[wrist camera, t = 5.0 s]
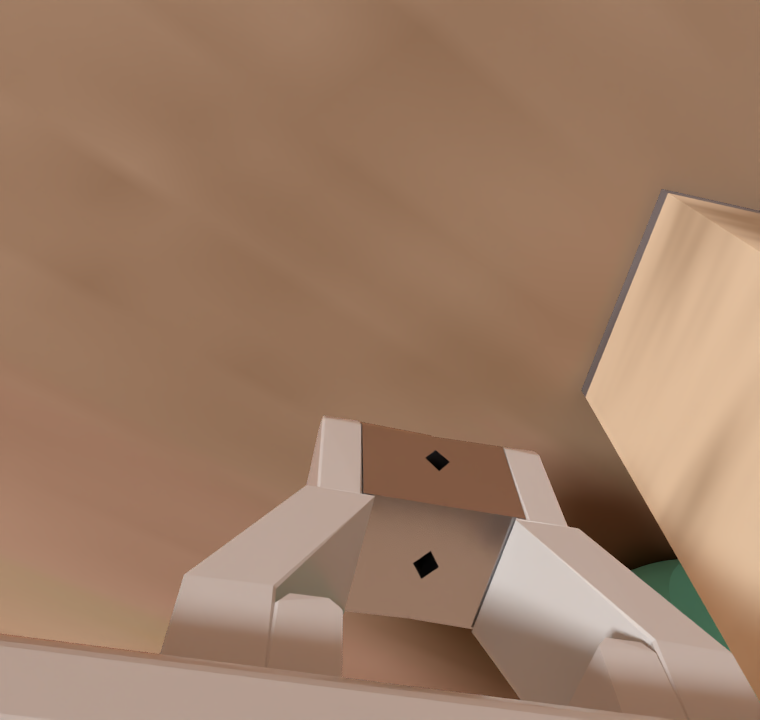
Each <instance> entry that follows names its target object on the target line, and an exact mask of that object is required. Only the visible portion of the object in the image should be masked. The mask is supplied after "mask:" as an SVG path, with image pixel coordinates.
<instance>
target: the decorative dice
mask: <svg viewBox="0 0 760 720" xmlns="http://www.w3.org/2000/svg"><path fill="white" fill-rule="evenodd" d="M630 571H632V572H633V573H634V574H635V575H636V576H638V577H639V578H640V579H641V580H643V581H644V582H645V583H646V584H647V585H649V586H650V587H651V588H652V589H654V590H655V591H656V592H657V593H659V594H660V595H661V596H662V597H663V598H665V599H666V600H667V601H668V602H670V603H671V604H672V605H673V606H675V607H676V608H677V609H678V610H679V611H681V612H682V613H683V614H684V615H686V616H687V617H688V618H689V619H691V620H692V621H693V622H694V623H695V624H697V625H698V626H699V627H700V628H702V629H703V630H704V631H705V632H707V633H708V634H709V635H710V636H711V637H713V638H714V639H715V640H716V641H718V642H719V643H720V644H721V645H722V646H724V647H725V648H726V649H727V650H729V651H730V649H729V647H728V645H727V644H726V642H725V640H724V638H723V637H722V635H721V633H720V631H719V630H718V628H717V626H716V624H715V623H714V621H713V619H712V617H711V616H710V614H709V612H708V610H707V609H706V607H705V605H704V603H703V602H702V600H701V598H700V596H699V595H698V593H697V591H696V589H695V588H694V586H693V584H692V582H691V581H690V579H689V577H688V575H687V574H686V572H685V570H684V568H683V567H682V565H681V563H680V561H679V560H678V559H674V560H666V561H660V562H656V563H651V564H648V565H644V566H641V567H638V568H635V569H633V570H630ZM730 652H731V651H730ZM731 653H732V652H731ZM739 667H740V666H739ZM743 674H744V673H743ZM747 681H748V680H747ZM751 688H752V687H751ZM752 690H753V689H752ZM755 695H756V694H755ZM756 697H757V696H756ZM759 702H760V701H759Z"/></svg>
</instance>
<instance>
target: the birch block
mask: <svg viewBox="0 0 760 720" xmlns="http://www.w3.org/2000/svg"><path fill="white" fill-rule="evenodd" d="M582 392H583V394H584V395H585V397H586V399H587V401H588V402H589V404H590V406H591V408H592V409H593V411H594V413H595V415H596V416H597V418H598V420H599V422H600V423H601V425H602V427H603V429H604V430H605V432H606V434H607V436H608V437H609V439H610V441H611V443H612V444H613V446H614V448H615V450H616V451H617V453H618V455H619V457H620V458H621V460H622V462H623V464H624V465H625V467H626V469H627V471H628V472H629V474H630V476H631V478H632V479H633V481H634V483H635V485H636V486H637V488H638V490H639V492H640V493H641V495H642V497H643V499H644V500H645V502H646V504H647V506H648V507H649V509H650V511H651V513H652V514H653V516H654V518H655V520H656V521H657V523H658V525H659V527H660V528H661V530H662V532H663V534H664V535H665V537H666V539H667V540H668V542H669V544H670V546H671V547H672V549H673V551H674V553H675V554H676V556H677V558H678V560H679V561H680V563H681V565H682V567H683V568H684V570H685V572H686V574H687V575H688V577H689V579H690V581H691V582H692V584H693V586H694V588H695V589H696V591H697V593H698V595H699V596H700V598H701V600H702V602H703V603H704V605H705V607H706V609H707V610H708V612H709V614H710V616H711V617H712V619H713V621H714V623H715V624H716V626H717V628H718V630H719V631H720V633H721V635H722V637H723V638H724V640H725V642H726V644H727V645H728V647H729V649H730V651H731V652H732V654H733V656H734V658H735V659H736V661H737V663H738V665H739V666H740V668H741V670H742V672H743V673H744V675H745V677H746V679H747V680H748V682H749V684H750V686H751V687H752V689H753V691H754V693H755V694H756V696H757V698H758V700H759V701H760V211H758V210H753V209H749V208H744V207H740V206H735V205H731V204H726V203H722V202H718V201H713V200H709V199H704V198H700V197H695V196H691V195H686V194H682V193H678V192H673V191H669V190H664V189H662V190H661V192H660V195H659V197H658V200H657V202H656V205H655V207H654V210H653V212H652V215H651V217H650V220H649V222H648V225H647V227H646V230H645V232H644V235H643V237H642V240H641V242H640V245H639V247H638V250H637V252H636V255H635V257H634V260H633V262H632V265H631V267H630V270H629V272H628V275H627V277H626V280H625V282H624V285H623V287H622V290H621V292H620V295H619V297H618V300H617V302H616V305H615V307H614V310H613V312H612V315H611V317H610V320H609V322H608V325H607V327H606V330H605V333H604V335H603V338H602V340H601V343H600V345H599V348H598V350H597V353H596V355H595V358H594V360H593V363H592V365H591V368H590V370H589V373H588V375H587V378H586V380H585V383H584V385H583V388H582Z"/></svg>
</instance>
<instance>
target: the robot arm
mask: <svg viewBox="0 0 760 720" xmlns="http://www.w3.org/2000/svg"><path fill="white" fill-rule="evenodd" d="M344 611H347V612H356V613H365V614H374V615H383V616H392V617H401V618H409V619H415V620H421V621H427V622H433V623H439V624H445V625H451V626H457V627H463V628H469V629H473V630H472V633H473V635H474V636H475V637H476V639H477V640H478V641H479V643H480V644H481V646H482V647H483V648H484V650H485V651H486V653H487V654H488V655H489V657H490V658H491V659H492V661H493V662H494V664H495V665H496V666H497V668H498V669H499V670H500V672H501V673H502V675H503V676H504V677H505V679H506V680H507V682H508V683H509V684H510V686H511V687H512V688H513V690H514V691H515V693H516V694H517V695H518V697H519V698H520V700H516V699H508V698H500V697H493V696H485V695H477V694H469V693H461V692H453V691H446V690H438V689H430V688H422V687H414V686H406V685H399V684H391V683H383V682H375V681H367V680H359V679H352V678H344V677H342V631H343V614H344ZM0 720H760V702H759V700H758V698H757V697H756V695H755V693H754V691H753V690H752V688H751V686H750V684H749V682H748V681H747V679H746V677H745V675H744V674H743V672H742V670H741V668H740V667H739V665H738V663H737V661H736V659H735V658H734V656H733V654H732V653H731V652H730V651H729V650H727V649H726V648H725V647H724V646H722V645H721V644H720V643H719V642H718V641H716V640H715V639H714V638H713V637H711V636H710V635H709V634H708V633H707V632H705V631H704V630H703V629H702V628H700V627H699V626H698V625H697V624H695V623H694V622H693V621H692V620H691V619H689V618H688V617H687V616H686V615H684V614H683V613H682V612H681V611H679V610H678V609H677V608H676V607H675V606H673V605H672V604H671V603H670V602H668V601H667V600H666V599H665V598H663V597H662V596H661V595H660V594H659V593H657V592H656V591H655V590H654V589H652V588H651V587H650V586H649V585H647V584H646V583H645V582H644V581H643V580H641V579H640V578H639V577H638V576H636V575H635V574H634V573H633V572H632V571H630V570H629V569H628V568H627V567H625V566H624V565H623V564H622V563H620V562H619V561H618V560H617V559H616V558H614V557H613V556H612V555H611V554H609V553H608V552H607V551H606V550H604V549H603V548H602V547H601V546H600V545H598V544H597V543H596V542H595V541H593V540H592V539H591V538H590V537H588V536H587V535H586V534H585V533H584V532H582V531H581V530H580V529H578V528H572V527H568V526H567V523H566V521H565V518H564V516H563V513H562V511H561V508H560V506H559V503H558V501H557V498H556V496H555V493H554V491H553V489H552V486H551V484H550V481H549V479H548V476H547V474H546V471H545V469H544V466H543V464H542V461H541V459H540V456H539V455H538V454H537V453H536V452H534V451H531V450H523V449H515V448H508V447H500V446H493V445H487V444H480V443H473V442H466V441H459V440H453V439H446V438H439V437H432V436H431V435H426V434H421V433H416V432H411V431H406V430H401V429H395V428H390V427H385V426H380V425H375V424H370V423H364V422H359V421H356V420H350V419H344V418H337V417H331V416H325V415H323V417H322V420H321V423H320V427H319V431H318V436H317V440H316V445H315V449H314V454H313V458H312V463H311V467H310V472H309V476H308V481H307V485H306V486H304V487H303V488H302V489H300V490H299V491H297V492H296V493H295V494H293V495H292V496H291V497H289V498H288V499H287V500H285V501H284V502H282V503H281V504H280V505H278V506H277V507H276V508H274V509H273V510H272V511H270V512H269V513H268V514H266V515H265V516H263V517H262V518H261V519H259V520H258V521H257V522H255V523H254V524H253V525H251V526H250V527H248V528H247V529H246V530H244V531H243V532H242V533H240V534H239V535H238V536H236V537H235V538H233V539H232V540H231V541H229V542H228V543H227V544H225V545H224V546H223V547H221V548H220V549H218V550H217V551H216V552H214V553H213V554H212V555H210V556H209V557H208V558H206V559H205V560H203V561H202V562H201V563H199V564H198V565H197V566H195V567H194V568H193V569H191V570H190V571H188V572H187V573H186V574H184V577H183V580H182V584H181V587H180V590H179V593H178V597H177V600H176V603H175V607H174V610H173V613H172V616H171V620H170V623H169V626H168V630H167V633H166V636H165V640H164V643H163V646H162V649H161V653H160V654H156V653H148V652H140V651H132V650H124V649H116V648H109V647H101V646H93V645H85V644H77V643H69V642H62V641H54V640H46V639H38V638H30V637H22V636H15V635H7V634H0Z"/></svg>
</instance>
